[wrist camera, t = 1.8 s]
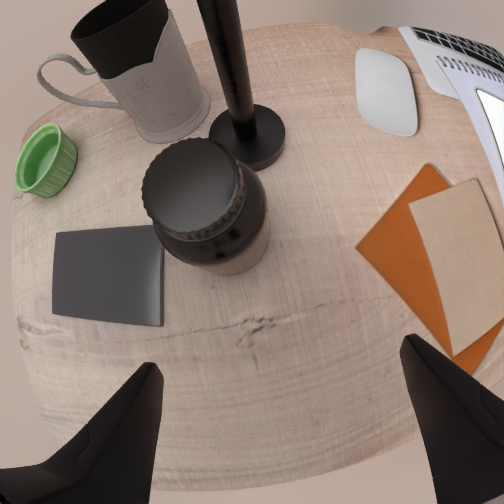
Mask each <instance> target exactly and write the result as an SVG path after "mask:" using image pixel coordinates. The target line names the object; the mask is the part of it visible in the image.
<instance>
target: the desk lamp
mask: <svg viewBox="0 0 504 504" xmlns="http://www.w3.org/2000/svg"><path fill="white" fill-rule="evenodd" d="M197 3H198V7H199V10H200V13H201V16H202V19H203V23H204V26H205V30H206V33H207V37H208V40H209V43H210V47H211V50H212V54H213V57H214V60H215V64H216V67H217V71H218V74H219V78H220V81H221V85H222V88H223V92H224V95H225V99H226V102H227V106H228V109H227V110H226V111H224V112H223V113H221V114H220V115H219V116H218V117H217V118H216V119H215V121H214V122H213V124H212V125H211V128H210V131H209V139H210V140H212V141H217V142H218V143H219V144H222V145H224V146H225V147H226V149H227V150H230V151H231V152H232V154H233V156H234V157H235V158H237V159H239V160H241V161H242V162H244V163H245V164H247V165H248V166H249V167H250V168H251V169H252V170H253V171H254V172H255V171H259V170H262V169H264V168H266V167H268V166H270V165H271V164H273V163H274V162H275V161H276V160H277V159H278V158H279V156H280V155H281V153H282V151H283V149H284V145H285V128H284V124H283V122H282V120H281V118H280V117H279V116H278V115H277V114H276V113H275V112H274V111H272V110H271V109H269V108H267V107H264V106H261V105H257V104H253V99H252V92H251V85H250V79H249V73H248V66H247V60H246V54H245V48H244V42H243V36H242V30H241V24H240V19H239V13H238V8H237V2H236V0H197Z"/></svg>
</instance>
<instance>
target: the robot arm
mask: <svg viewBox="0 0 504 504" xmlns="http://www.w3.org/2000/svg"><path fill="white" fill-rule="evenodd" d="M400 358H401V362H402V366H403V371H404V375H405V379H406V384H407V388H408V392H409V395H410V398H411V401H412V404H413V407H414V410H415V414H416V417H417V420H418V423H419V427H420V430H421V434H422V437H423V441H424V445H425V448H426V452H427V456H428V460H429V464H430V469H431V473H432V477H433V483H434V488H435V493H436V498H437V503H438V504H504V401H503V400H502V399H500V398H499V397H497V396H496V395H495V394H493V393H492V392H491V391H489V390H488V389H487V388H486V387H484V386H483V385H482V384H480V383H479V382H478V381H477V380H475V379H474V378H473V377H472V376H470V375H469V374H468V373H467V372H465V371H464V370H463V369H462V368H460V367H459V366H458V365H456V364H455V363H454V362H452V361H451V360H450V359H449V358H447V357H446V356H445V355H443V354H442V353H441V352H439V351H438V350H437V349H436V348H434V347H433V346H432V345H430V344H429V343H428V342H426V341H425V340H424V339H422V338H421V337H420V336H418V335H417V334H410V335H406V336H405V337H404V339H403V343H402V345H401V348H400ZM163 385H164V378H163V375H162V373H161V371H160V370H159V368H158V366H157V365H156V364H155V363H153V362H145V363H143V364H142V365H141V366H140V367H139V368H138V370H137V371H136V372H135V373H134V374H133V375H132V376H131V377H130V378H129V379H128V380H127V381H126V382H125V383H124V384H123V385H122V387H121V388H120V389H119V390H118V391H117V392H116V393H115V394H114V395H113V396H112V397H111V398H110V399H109V400H108V401H107V403H106V404H105V405H104V406H103V407H102V408H101V409H100V410H99V411H98V412H97V413H96V414H95V415H94V416H93V417H92V419H91V420H90V421H89V422H88V424H86V425H85V426H84V427H83V428H82V429H81V430H80V431H79V432H78V433H77V434H76V435H75V436H74V437H73V438H72V439H71V440H70V441H69V442H68V443H67V444H65V445H64V446H63V447H62V448H61V449H60V450H58V451H57V452H56V453H55V454H54V455H52V456H51V457H50V458H49V459H48V460H46V461H45V462H43V463H40V464H37V465H32V466H25V467H16V468H7V469H0V504H149V498H150V489H151V481H152V474H153V466H154V459H155V453H156V446H157V440H158V434H159V428H160V422H161V415H162V400H163Z"/></svg>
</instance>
